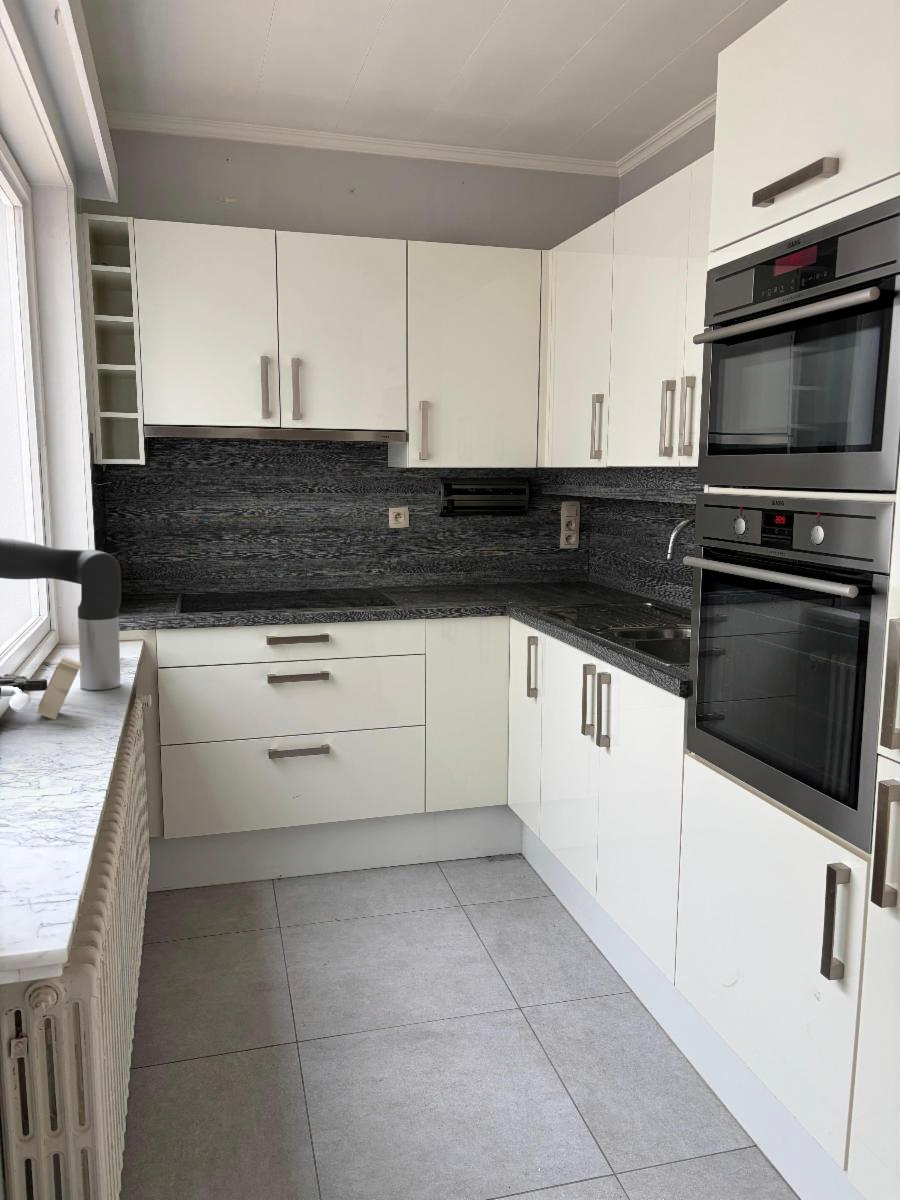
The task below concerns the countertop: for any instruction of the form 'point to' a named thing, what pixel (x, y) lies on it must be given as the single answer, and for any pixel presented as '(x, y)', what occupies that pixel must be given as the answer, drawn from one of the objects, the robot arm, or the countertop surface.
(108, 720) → the countertop surface
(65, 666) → the birch block
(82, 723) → the countertop surface
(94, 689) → the robot arm
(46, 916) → the countertop surface
